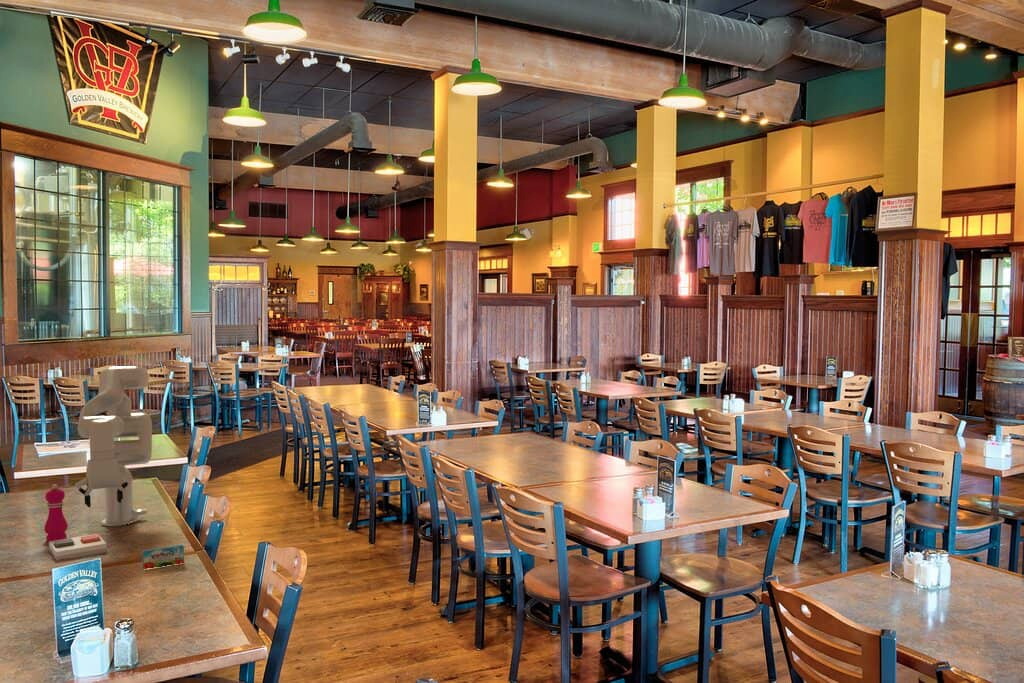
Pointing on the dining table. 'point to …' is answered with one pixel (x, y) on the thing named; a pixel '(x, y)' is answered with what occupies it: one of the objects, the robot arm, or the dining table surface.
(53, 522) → the pepper mill
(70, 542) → the button black
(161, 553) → the blue printed product box
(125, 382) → the robot arm
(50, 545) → the switch panel
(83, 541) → the button red
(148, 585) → the dining table surface
